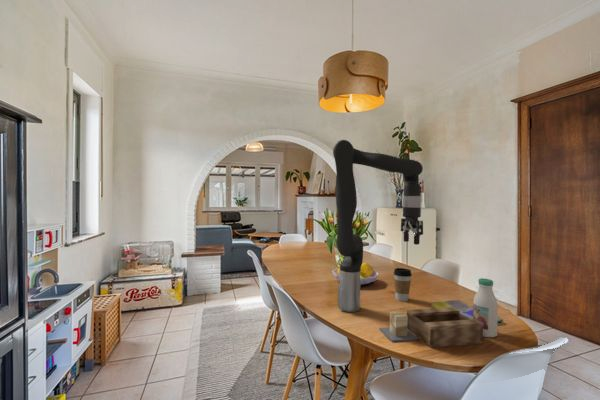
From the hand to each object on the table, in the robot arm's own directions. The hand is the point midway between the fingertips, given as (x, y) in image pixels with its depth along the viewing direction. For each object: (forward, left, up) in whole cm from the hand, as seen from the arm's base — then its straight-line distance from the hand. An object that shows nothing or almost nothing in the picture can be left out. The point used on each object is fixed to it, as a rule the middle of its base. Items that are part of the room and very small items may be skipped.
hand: (411, 242), depth 133 cm
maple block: (-17, -21, -30) cm, 40 cm away
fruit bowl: (-8, +47, -30) cm, 57 cm away
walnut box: (-1, -24, -30) cm, 39 cm away
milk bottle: (+16, -25, -30) cm, 42 cm away
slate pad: (-17, -21, -30) cm, 40 cm away
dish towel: (+21, -8, -31) cm, 38 cm away
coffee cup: (+4, +14, -30) cm, 34 cm away
